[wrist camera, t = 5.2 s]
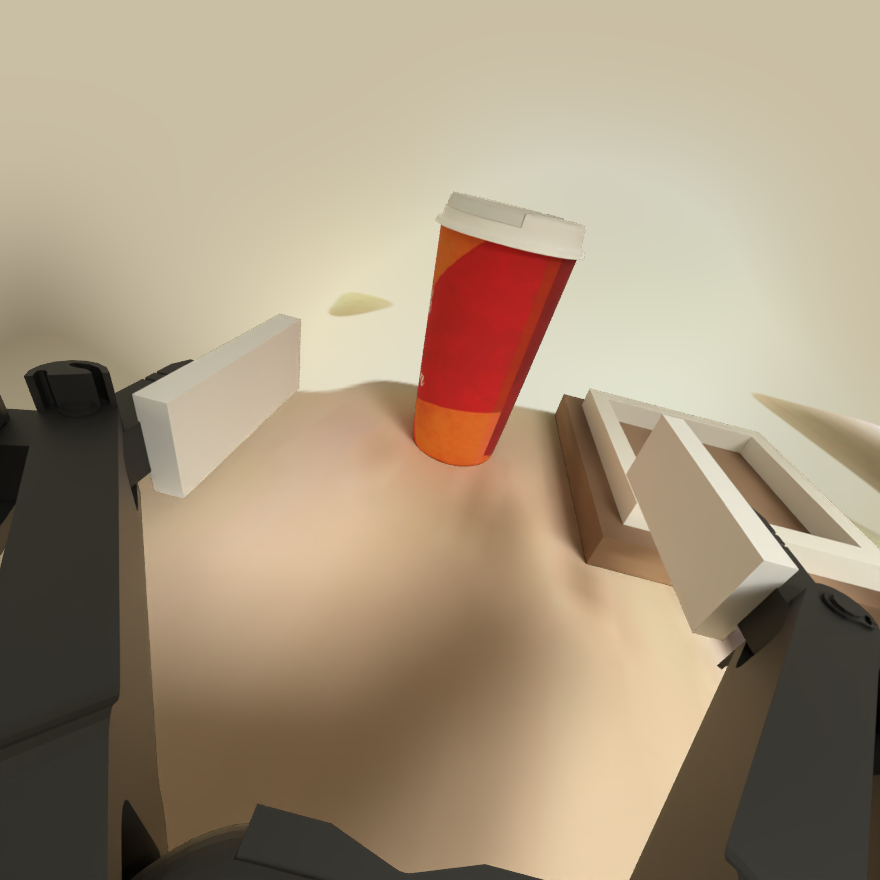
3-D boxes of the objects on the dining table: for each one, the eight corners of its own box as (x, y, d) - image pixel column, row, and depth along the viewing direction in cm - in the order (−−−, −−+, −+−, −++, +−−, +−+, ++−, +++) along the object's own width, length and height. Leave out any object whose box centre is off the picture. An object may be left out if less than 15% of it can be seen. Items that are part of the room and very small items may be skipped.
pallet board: (739, 462, 34) (766, 428, 32) (892, 643, 20) (955, 602, 18) (554, 414, 34) (571, 377, 32) (586, 563, 20) (617, 514, 19)
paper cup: (460, 404, 32) (515, 204, 24) (530, 461, 27) (625, 235, 20) (373, 421, 27) (407, 179, 20) (440, 492, 23) (519, 213, 15)
